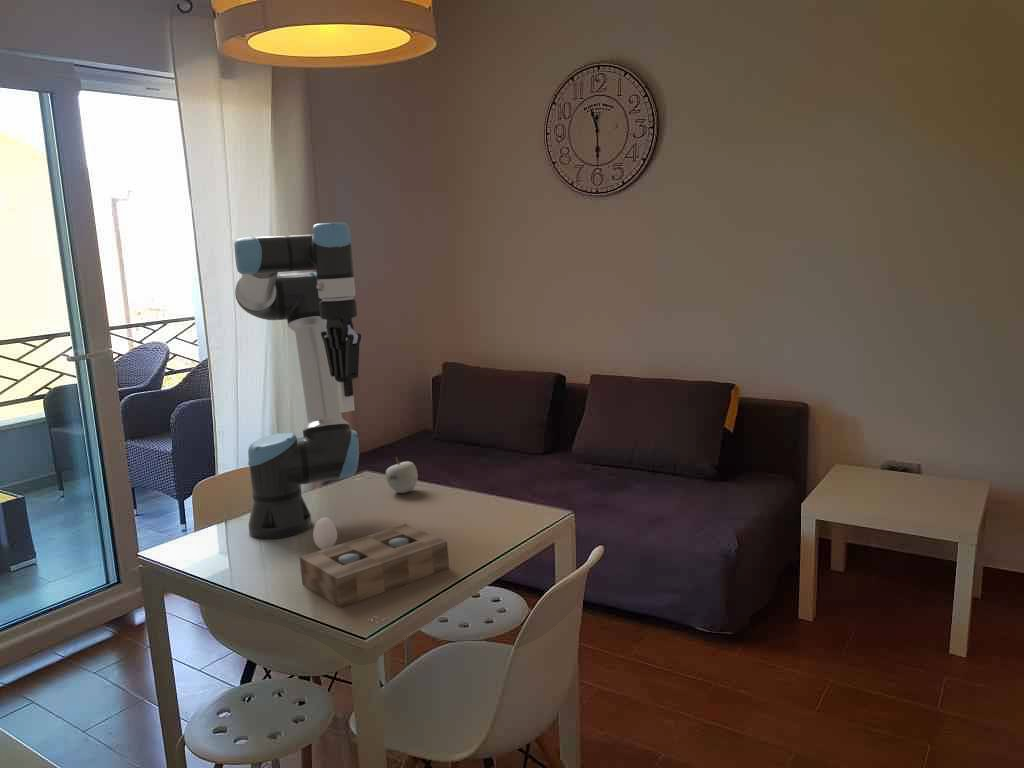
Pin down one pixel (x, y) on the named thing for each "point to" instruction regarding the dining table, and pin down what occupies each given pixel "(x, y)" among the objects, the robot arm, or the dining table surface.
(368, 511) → the dining table surface
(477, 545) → the dining table surface
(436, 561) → the walnut board
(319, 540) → the egg
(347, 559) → the dowel
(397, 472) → the decorative object
